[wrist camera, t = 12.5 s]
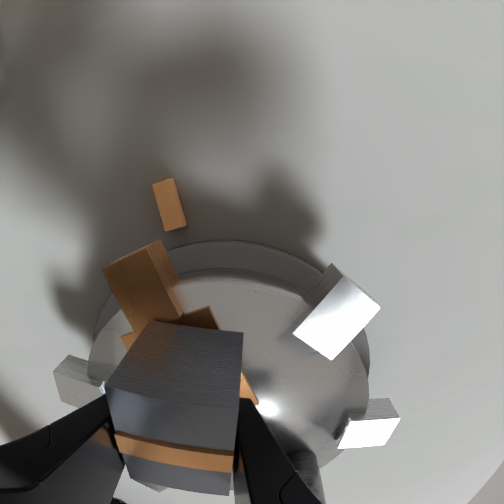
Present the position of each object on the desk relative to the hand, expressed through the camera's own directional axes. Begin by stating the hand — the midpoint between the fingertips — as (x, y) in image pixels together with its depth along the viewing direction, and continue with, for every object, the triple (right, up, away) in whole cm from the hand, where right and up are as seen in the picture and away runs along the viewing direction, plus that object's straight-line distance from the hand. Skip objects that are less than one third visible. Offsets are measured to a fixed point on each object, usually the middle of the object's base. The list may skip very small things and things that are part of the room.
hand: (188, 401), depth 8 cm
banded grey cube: (0, 0, +1) cm, 1 cm away
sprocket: (+1, -2, +4) cm, 5 cm away
